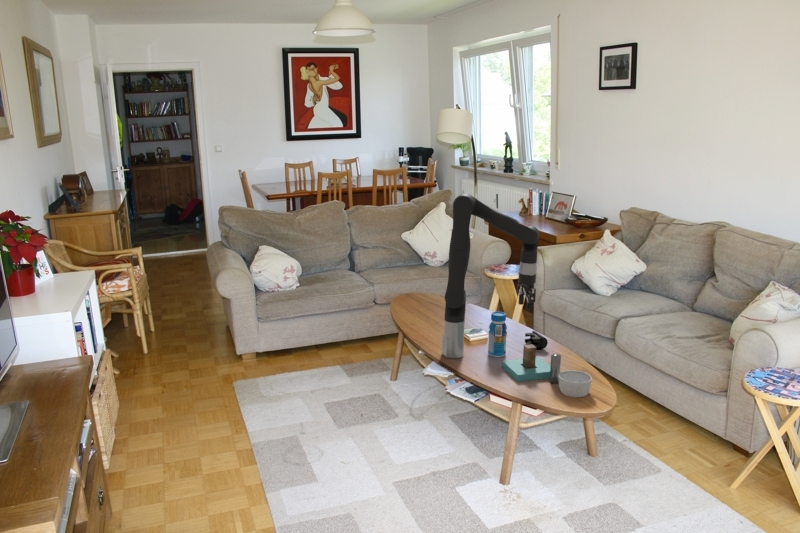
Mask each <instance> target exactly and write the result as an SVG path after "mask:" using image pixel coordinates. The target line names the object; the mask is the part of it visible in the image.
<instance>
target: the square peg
mask: <svg viewBox="0 0 800 533" xmlns="http://www.w3.org/2000/svg"><path fill="white" fill-rule="evenodd" d="M522 350H523V351H522V354H523V355H522V359H523V367H524V368H525V369H530V368H535V360H536V358H537V355H536V354H537V351H536V347H535V346H534V345H532V344H531V345H525V344H524V345H523V349H522Z"/></svg>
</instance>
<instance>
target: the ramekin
mask: <svg viewBox="0 0 800 533" xmlns="http://www.w3.org/2000/svg"><path fill="white" fill-rule="evenodd" d="M558 379H559V383H558V386H559V390H560V392H561V393H562V395H565V396H567V397H570V398H583V397H586V396H588V395H589V393H590V390H591V385H592V383H593V382H592V381H593V378H592V376H591V375H590V374H589V373H587V372H585V371H581V370H576V369H575V370H572V369H569V370H563V371H560V373H559V375H558Z"/></svg>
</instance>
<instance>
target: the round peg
mask: <svg viewBox="0 0 800 533" xmlns="http://www.w3.org/2000/svg"><path fill="white" fill-rule="evenodd" d="M561 360H562V355H561V354H559V353H552V354H551V356H550V378H549V383H550V384H553V385H557V384H558V385H559V379H558V375H559V373H561V365H562V364H561V362H562V361H561Z"/></svg>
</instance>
